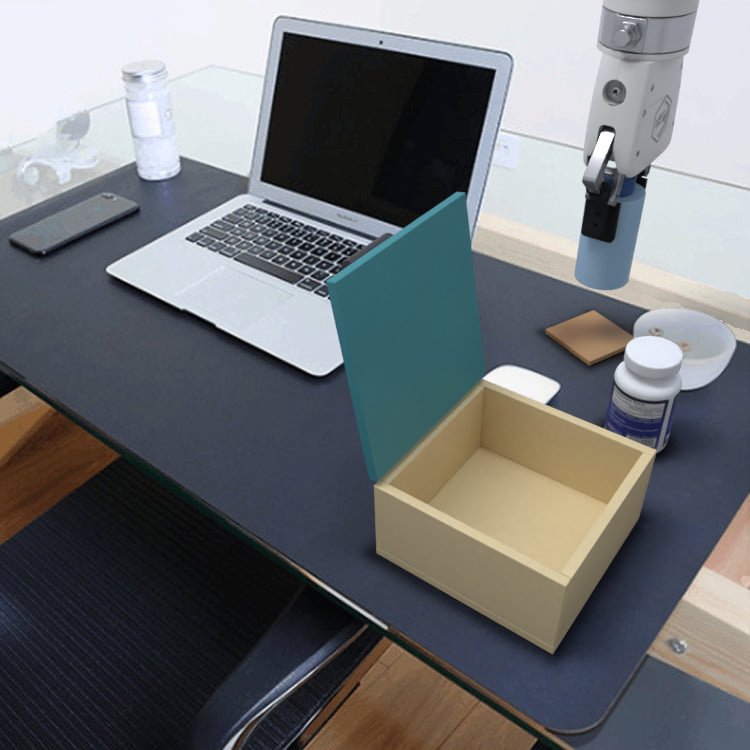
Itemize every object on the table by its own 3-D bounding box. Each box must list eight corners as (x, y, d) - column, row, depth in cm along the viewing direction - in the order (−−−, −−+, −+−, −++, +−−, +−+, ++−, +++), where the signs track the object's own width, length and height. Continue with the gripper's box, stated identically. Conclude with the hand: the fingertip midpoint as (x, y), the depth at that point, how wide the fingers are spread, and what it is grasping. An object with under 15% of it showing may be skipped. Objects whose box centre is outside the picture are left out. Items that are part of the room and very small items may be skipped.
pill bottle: (631, 409, 77) (651, 324, 71) (680, 441, 73) (705, 355, 67) (589, 432, 74) (605, 346, 68) (637, 467, 71) (659, 380, 64)
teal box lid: (465, 192, 60) (417, 187, 62) (334, 282, 50) (284, 273, 52) (485, 374, 68) (443, 364, 71) (377, 482, 58) (332, 466, 61)
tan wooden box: (638, 518, 66) (657, 450, 61) (552, 655, 56) (566, 586, 51) (476, 444, 73) (481, 378, 69) (375, 553, 64) (373, 485, 59)
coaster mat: (638, 344, 85) (639, 340, 85) (589, 366, 82) (590, 361, 82) (592, 314, 90) (593, 309, 89) (544, 333, 87) (545, 328, 87)
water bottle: (640, 280, 80) (661, 177, 74) (600, 296, 78) (618, 191, 71) (602, 257, 84) (619, 157, 77) (563, 272, 82) (577, 170, 75)
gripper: (649, 64, 59) (610, 274, 70) (724, 12, 70) (680, 202, 81) (557, 48, 63) (534, 250, 74) (642, 1, 74) (610, 184, 85)
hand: (611, 223), depth 77 cm, fingers closed on water bottle, 5 cm apart
